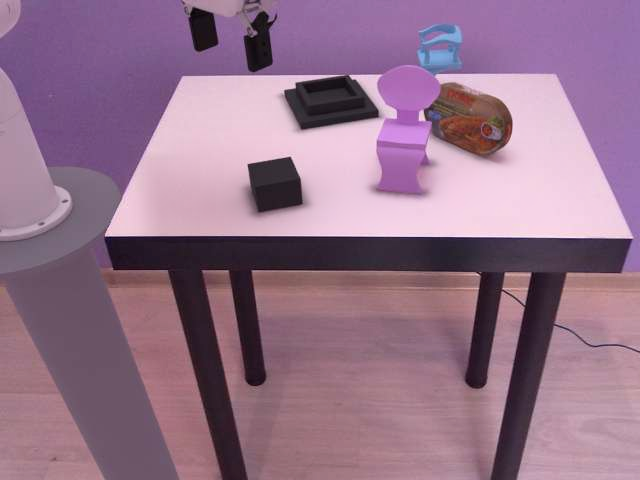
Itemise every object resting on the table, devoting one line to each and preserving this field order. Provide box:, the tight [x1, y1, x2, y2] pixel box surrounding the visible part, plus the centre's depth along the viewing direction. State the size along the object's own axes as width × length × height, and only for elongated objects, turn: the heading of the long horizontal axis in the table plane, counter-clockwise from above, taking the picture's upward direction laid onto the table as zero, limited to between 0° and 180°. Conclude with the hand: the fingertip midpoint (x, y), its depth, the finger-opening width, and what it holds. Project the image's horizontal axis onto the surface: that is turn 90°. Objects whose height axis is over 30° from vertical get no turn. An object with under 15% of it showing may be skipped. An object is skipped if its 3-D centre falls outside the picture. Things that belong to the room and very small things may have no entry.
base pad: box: [283, 74, 380, 130], centre depth 104 cm, size 13×13×3 cm
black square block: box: [246, 156, 304, 213], centre depth 83 cm, size 6×6×4 cm
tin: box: [422, 81, 514, 157], centre depth 91 cm, size 15×3×8 cm, turn 42°
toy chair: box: [375, 64, 441, 195], centre depth 82 cm, size 8×9×15 cm
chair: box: [416, 23, 463, 85], centre depth 102 cm, size 8×8×12 cm
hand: (233, 57), depth 72 cm, fingers open, 9 cm apart
